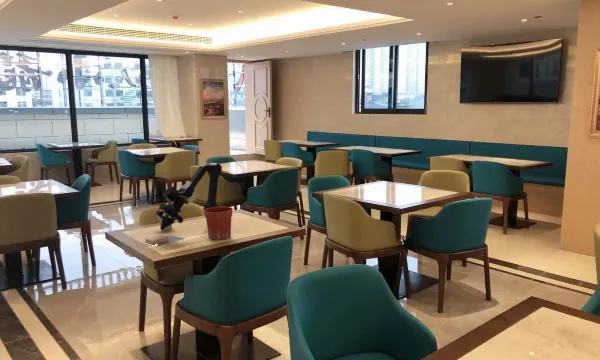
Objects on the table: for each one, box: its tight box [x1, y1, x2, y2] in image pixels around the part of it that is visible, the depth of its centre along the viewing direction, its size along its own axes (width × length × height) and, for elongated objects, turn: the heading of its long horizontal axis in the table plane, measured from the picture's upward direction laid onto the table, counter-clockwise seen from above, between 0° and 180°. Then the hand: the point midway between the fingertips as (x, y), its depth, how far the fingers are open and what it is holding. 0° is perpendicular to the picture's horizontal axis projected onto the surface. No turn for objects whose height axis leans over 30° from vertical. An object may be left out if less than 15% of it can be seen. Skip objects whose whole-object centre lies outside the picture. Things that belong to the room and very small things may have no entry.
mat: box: [157, 234, 186, 247], centre depth 272 cm, size 20×15×1 cm
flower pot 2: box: [202, 206, 234, 241], centre depth 276 cm, size 16×16×16 cm
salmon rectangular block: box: [144, 234, 169, 245], centre depth 269 cm, size 3×7×10 cm
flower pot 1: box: [157, 215, 173, 231], centre depth 298 cm, size 9×9×9 cm
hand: (161, 229), depth 271 cm, fingers closed
